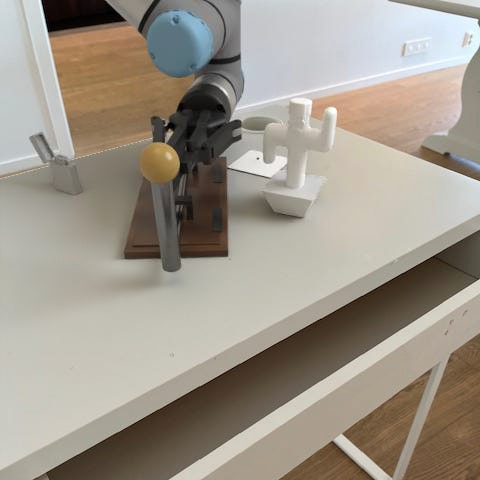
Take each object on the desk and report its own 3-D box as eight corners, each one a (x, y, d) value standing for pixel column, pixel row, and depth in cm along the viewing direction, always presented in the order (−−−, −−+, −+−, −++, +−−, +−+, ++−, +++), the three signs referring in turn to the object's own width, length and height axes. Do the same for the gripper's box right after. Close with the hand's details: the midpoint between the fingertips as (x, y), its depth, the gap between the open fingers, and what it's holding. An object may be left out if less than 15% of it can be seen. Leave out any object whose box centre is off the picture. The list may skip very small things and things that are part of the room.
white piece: (270, 177, 80) (270, 173, 80) (226, 167, 83) (226, 162, 83) (292, 158, 86) (292, 154, 85) (250, 149, 89) (250, 145, 88)
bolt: (177, 136, 90) (169, 41, 80) (200, 135, 90) (194, 40, 80) (153, 280, 58) (133, 152, 48) (188, 280, 58) (176, 151, 48)
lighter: (82, 190, 78) (70, 138, 73) (74, 195, 77) (61, 143, 72) (50, 180, 81) (36, 129, 76) (41, 184, 80) (27, 133, 75)
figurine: (271, 191, 77) (274, 86, 67) (332, 202, 74) (345, 94, 65) (253, 213, 72) (254, 104, 62) (318, 226, 69) (329, 113, 60)
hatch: (148, 163, 85) (145, 140, 82) (226, 162, 85) (226, 138, 83) (124, 258, 64) (119, 231, 61) (228, 256, 64) (227, 228, 62)
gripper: (250, 136, 77) (224, 213, 60) (166, 132, 79) (117, 206, 61) (250, 83, 72) (221, 151, 55) (161, 81, 74) (105, 145, 56)
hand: (166, 180), depth 58 cm, fingers closed
